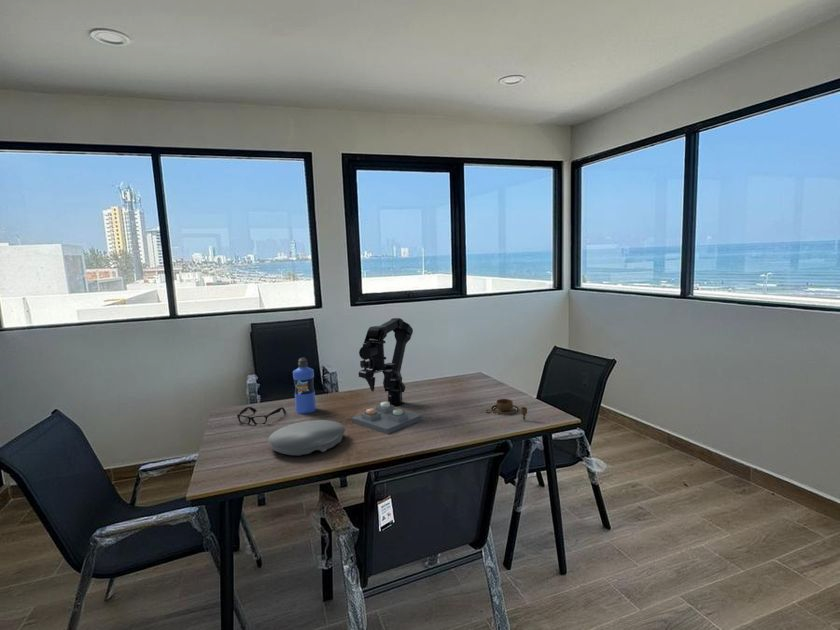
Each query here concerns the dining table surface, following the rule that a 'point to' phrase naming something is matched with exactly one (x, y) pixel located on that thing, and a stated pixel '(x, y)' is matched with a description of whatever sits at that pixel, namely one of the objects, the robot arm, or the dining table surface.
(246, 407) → the glasses
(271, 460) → the dining table surface
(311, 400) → the water bottle
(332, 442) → the grey low domed part
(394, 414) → the sage button
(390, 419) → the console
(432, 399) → the dining table surface
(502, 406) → the place setting
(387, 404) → the ivory button
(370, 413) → the terracotta button
